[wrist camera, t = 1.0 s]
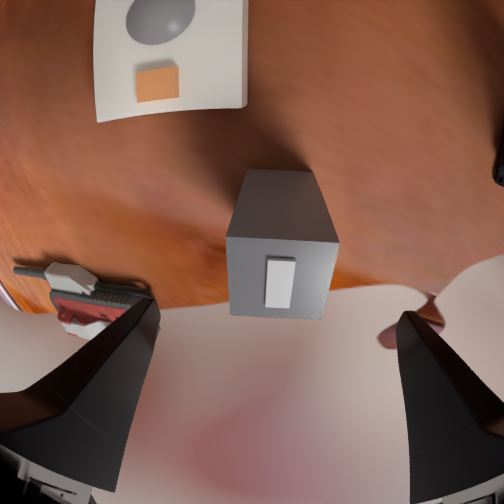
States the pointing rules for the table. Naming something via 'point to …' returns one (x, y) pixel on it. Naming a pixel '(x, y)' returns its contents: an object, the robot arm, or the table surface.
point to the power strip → (169, 56)
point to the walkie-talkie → (85, 298)
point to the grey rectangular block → (280, 246)
